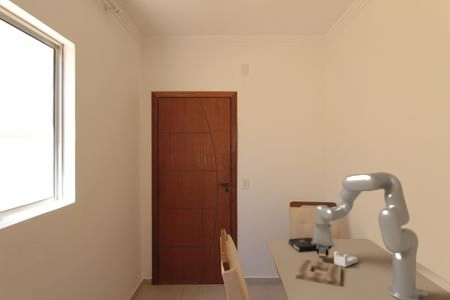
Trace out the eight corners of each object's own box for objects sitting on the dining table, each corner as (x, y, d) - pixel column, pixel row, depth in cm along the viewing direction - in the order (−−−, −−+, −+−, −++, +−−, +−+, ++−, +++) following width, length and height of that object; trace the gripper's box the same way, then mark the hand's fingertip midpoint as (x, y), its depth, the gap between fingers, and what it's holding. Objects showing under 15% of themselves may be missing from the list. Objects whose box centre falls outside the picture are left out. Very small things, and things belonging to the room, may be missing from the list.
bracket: (344, 268, 166) (345, 255, 166) (334, 264, 172) (334, 251, 171) (357, 263, 173) (357, 250, 173) (346, 259, 179) (346, 247, 179)
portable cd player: (288, 244, 206) (288, 239, 206) (310, 242, 209) (310, 237, 209) (298, 253, 190) (298, 247, 190) (322, 251, 193) (322, 245, 193)
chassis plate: (341, 268, 165) (341, 265, 165) (340, 286, 145) (340, 282, 145) (302, 262, 174) (302, 259, 174) (295, 278, 154) (295, 274, 154)
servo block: (326, 254, 179) (326, 244, 179) (325, 260, 170) (325, 250, 170) (320, 253, 181) (319, 244, 181) (318, 259, 172) (318, 249, 172)
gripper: (337, 225, 175) (337, 255, 176) (309, 222, 182) (309, 251, 182) (336, 228, 168) (337, 259, 169) (307, 226, 175) (307, 255, 175)
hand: (322, 255), depth 175 cm, fingers closed on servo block, 4 cm apart
